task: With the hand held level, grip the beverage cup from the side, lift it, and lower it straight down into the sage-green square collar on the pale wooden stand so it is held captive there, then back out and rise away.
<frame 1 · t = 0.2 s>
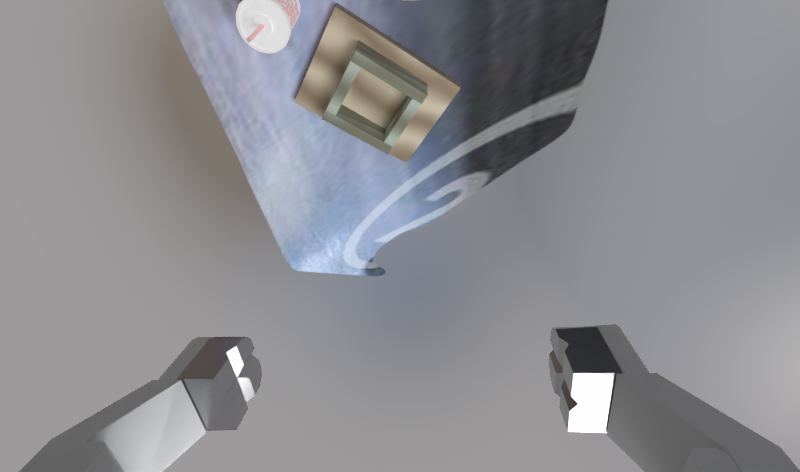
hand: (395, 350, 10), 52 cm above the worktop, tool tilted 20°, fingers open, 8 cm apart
beverage cup: (283, 5, 51), on the worktop
collar stand: (376, 90, 58), on the worktop
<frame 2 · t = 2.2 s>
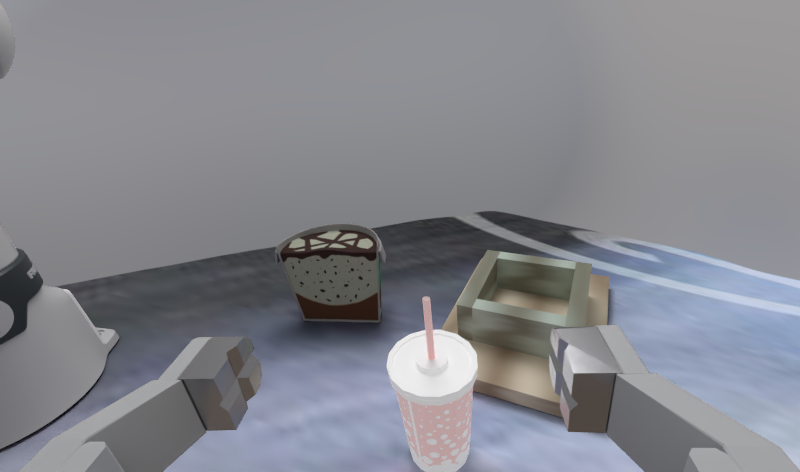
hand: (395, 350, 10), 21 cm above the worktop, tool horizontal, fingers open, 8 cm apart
beverage cup: (439, 447, 30), on the worktop
collar stand: (525, 326, 41), on the worktop
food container: (348, 306, 48), on the worktop
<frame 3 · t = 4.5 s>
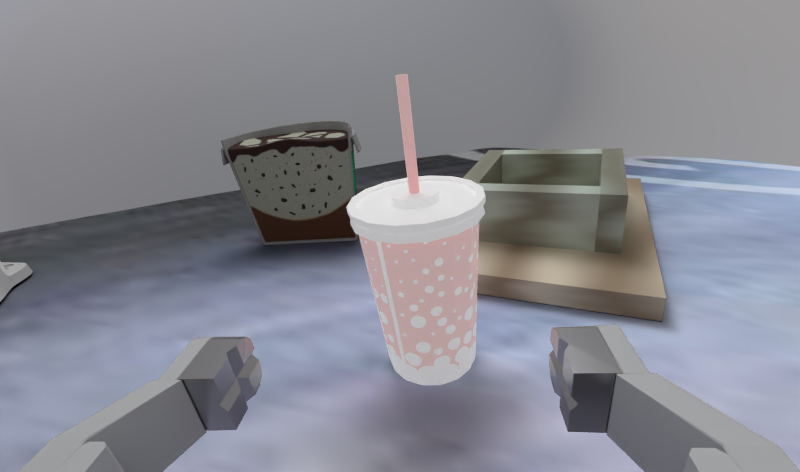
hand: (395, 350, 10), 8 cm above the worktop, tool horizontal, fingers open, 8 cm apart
beverage cup: (432, 355, 21), on the worktop
collar stand: (540, 231, 32), on the worktop
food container: (320, 230, 39), on the worktop
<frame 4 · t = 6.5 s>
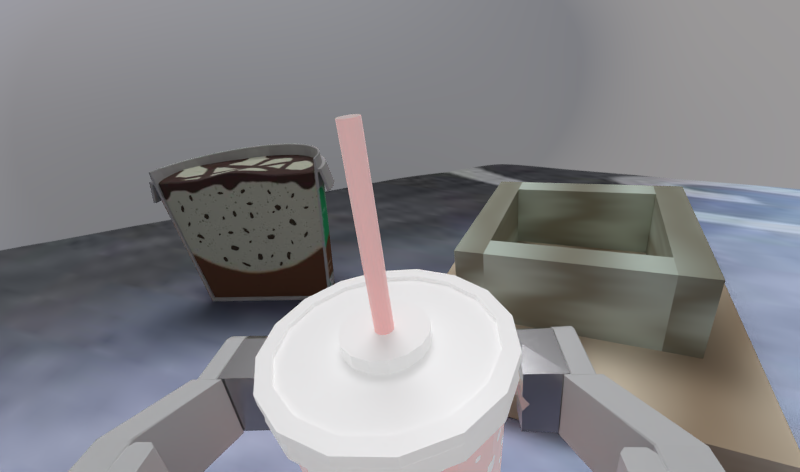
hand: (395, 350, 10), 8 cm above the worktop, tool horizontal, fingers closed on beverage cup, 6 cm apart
collar stand: (571, 296, 24), on the worktop
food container: (288, 279, 31), on the worktop
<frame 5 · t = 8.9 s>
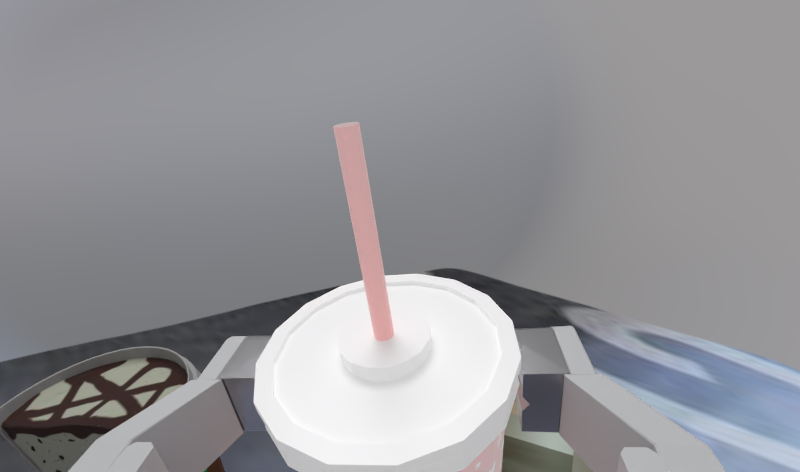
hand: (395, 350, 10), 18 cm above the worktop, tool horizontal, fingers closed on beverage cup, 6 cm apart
when the fingers open (11 cm above the worktop, at t = 11.5 s): beverage cup drops 1 cm, resting on collar stand.
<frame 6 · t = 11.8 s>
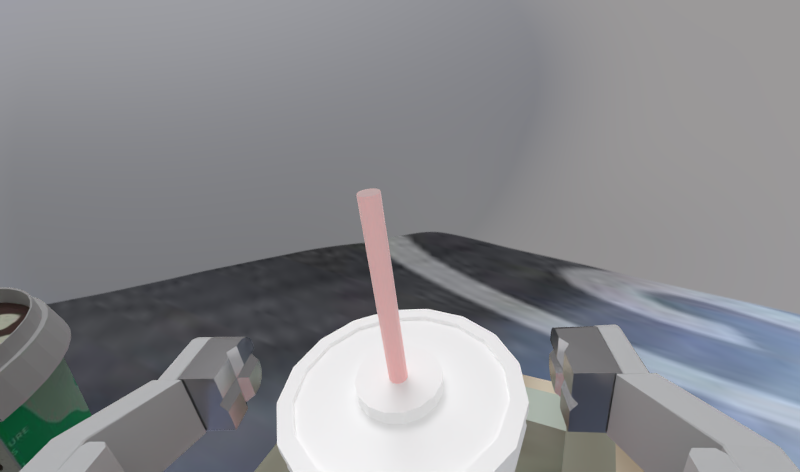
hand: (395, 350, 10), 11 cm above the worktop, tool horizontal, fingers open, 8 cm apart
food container: (56, 471, 21), on the worktop
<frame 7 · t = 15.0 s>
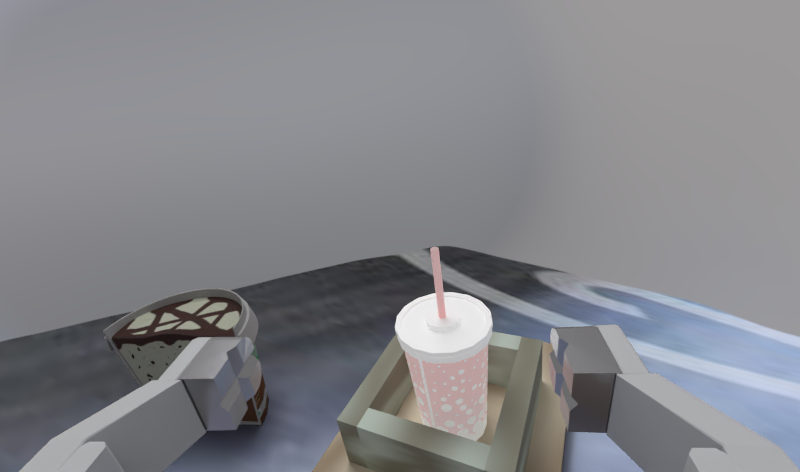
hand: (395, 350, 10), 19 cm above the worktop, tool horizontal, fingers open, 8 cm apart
beverage cup: (454, 421, 28), point 1 cm above the worktop, touching collar stand
collar stand: (453, 432, 29), on the worktop
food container: (231, 396, 36), on the worktop
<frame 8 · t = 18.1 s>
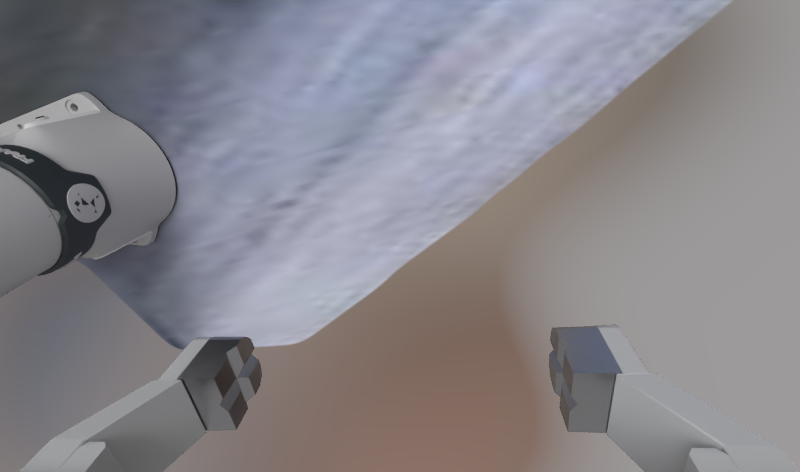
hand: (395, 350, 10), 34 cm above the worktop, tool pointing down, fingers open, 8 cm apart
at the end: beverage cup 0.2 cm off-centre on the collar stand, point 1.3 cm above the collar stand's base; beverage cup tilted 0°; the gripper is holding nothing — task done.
